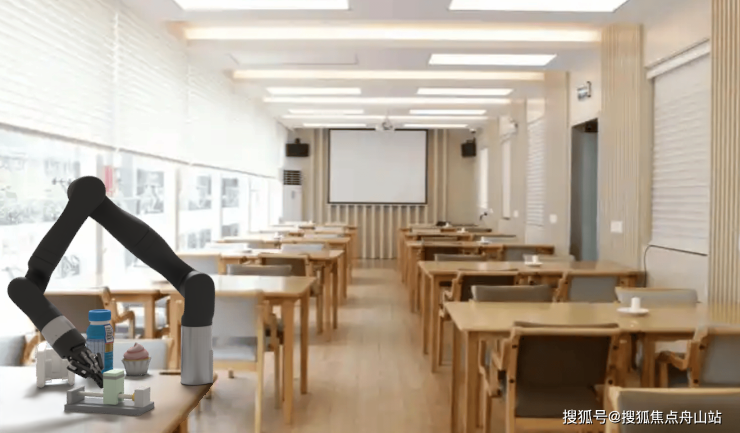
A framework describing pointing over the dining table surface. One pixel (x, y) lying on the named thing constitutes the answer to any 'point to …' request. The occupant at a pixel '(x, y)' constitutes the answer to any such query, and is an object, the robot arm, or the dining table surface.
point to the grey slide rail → (127, 407)
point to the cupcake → (136, 360)
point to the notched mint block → (113, 386)
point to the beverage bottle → (101, 336)
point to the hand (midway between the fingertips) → (105, 385)
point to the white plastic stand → (51, 366)
